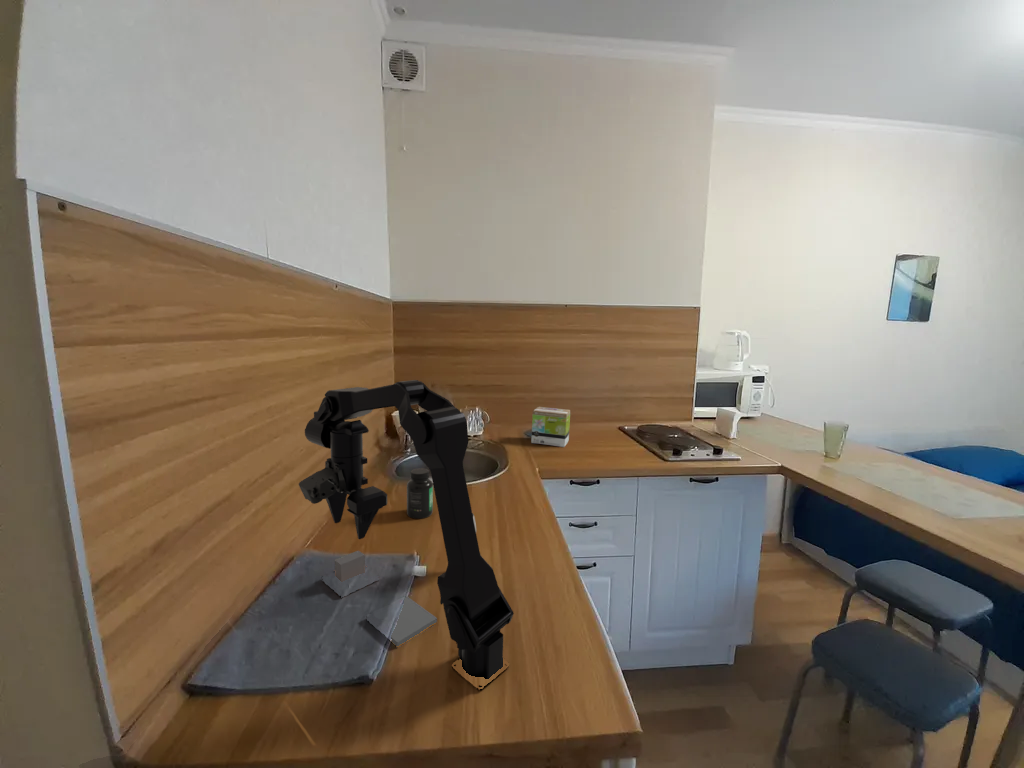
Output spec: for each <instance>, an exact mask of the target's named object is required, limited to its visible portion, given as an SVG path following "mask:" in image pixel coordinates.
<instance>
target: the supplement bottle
mask: <svg viewBox="0 0 1024 768" xmlns="http://www.w3.org/2000/svg"><path fill="white" fill-rule="evenodd" d="M409 478H410V480H408V482H407V484H406V514H407V516H408V517H409V518H412V519H415V520H417V519H418V520H420V519H425V518H428V517H430V516H431V515H432V514H433V511H434V504H433V503H434V502H433V500H434V498H433V497H434V486H433V481H432V479H429V478H430V469H427V468H423V467H420V468H419V467H418V468H413V469H412V470H411V471H410V475H409Z"/></svg>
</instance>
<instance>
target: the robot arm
mask: <svg viewBox="0 0 1024 768" xmlns="http://www.w3.org/2000/svg"><path fill="white" fill-rule="evenodd" d="M414 405H418V406H419V407H420V408H421V409H423V410H424V411H421V412H418V413H417V412H416V411H415V410H414V408H412V406H414ZM391 407H392V408H393V407H395V408H396V409H397V411H398V417H399V418H398V419H399V424H400V426H401V427H402V428H403V430H404V431H405V432H406V434H408V436H409V437H410V438H411V440H412V443H413V446H414V450H415V452H416V455H417V457H418V458H419V459H420V460H421V461H422V463H423V464H425V466H426V467H427V468H428V470H429V472H430V474H431V481H432V483H433V492H434V495H435V503H436V505H437V512H438V517H439V521H440V526H441V527H440V528H441V532H442V537H443V543H444V547H445V553H446V559H447V567H446V570H445V571H444V572H443V573H441V574H440V575H438V576H437V582H436V583H437V586H438V590H439V594H440V595H439V596H440V601H439V603H440V605H443V612H444V615H445V620H446V624H447V628H448V632H449V638H450V639H451V640H452V641H454V642H455V643H456V646H457V647H456V648H457V650H458V651H457V653H458V654H457V655H458V659H459V658H460V659H461V660H462V667H463V669H464V670H465V671H466V673H468V674H469V675H471V676H475V677H484V678H485V679H489V678H490V677H491V676H492V675H493V674H495V673H496V672H497V671H498V670H499V669H501V668H502V667H503V658H504V634H503V633H502V632H501V629H503V628H504V627H505V626H507V625H508V624H510V623H511V621H512V620H513V617H514V614H515V613H514V610H513V609H512V608H511V605H510V604H509V602H508V600H507V598H506V597H505V595H504V594H503V592H502V590H501V588H500V587H499V585H498V584H499V583H498V582H497V577H496V574H495V572H494V568H493V567H492V566H491V565H490V564H489V563H488V562H487V560H485V558H484V557H483V556H482V555H481V551H480V546H479V541H478V536H477V529H476V530H475V525H474V520H473V515H472V513H473V510H472V505H471V500H470V499H471V498H470V494H469V490H468V486H467V479H466V478H467V477H466V475H465V469H464V459H465V456H466V453H467V448H468V446H469V434H468V433H469V432H468V431H469V430H468V421H467V419H466V416H465V414H464V412H463V411H460V410H459V408H457V407H455V406H454V404H453V403H452V402H451V401H450V400H449V399H448V398H446V397H444V396H442V395H440V394H438V393H436V392H435V391H433V390H431V389H430V388H429V387H428V386H427V385H426V384H425V383H424V382H423V381H419V380H418V379H413V380H412V379H411V380H403V381H396V382H395V383H393V384H389V385H383V386H377V387H373V388H367V387H362V386H361V387H359V386H356V387H348V388H340V389H329V390H327V391H326V392H325V394H324V397H323V398H322V400H321V403H320V405H319V407H318V410H317V411H314V412H313V417H312V418H311V419H309V421H308V422H307V424H306V426H305V428H304V436H305V438H306V440H308V442H311V443H312V444H314V445H317V446H320V447H323V448H325V449H330V457H329V458H326V461H325V462H324V464H325V465H324V468H322V469H321V470H318V471H316V472H314V473H312V474H311V475H309V476H308V477H306V478H304V479H303V480H300V481H299V483H298V487H299V490H300V491H301V492H302V495H303V497H304V499H305V500H308V501H309V502H310V503H312V504H314V505H317V504H319V503H320V502H322V501H323V500H326V504H327V506H328V509H329V512H330V514H331V518H332V520H333V522H334V523H335V524H338V523H340V522H341V520H342V518H343V514H344V511H345V505H346V504H347V506H348V509H346V511H348V513H350V514H352V515H353V517H354V525H355V529H356V530H355V531H356V535H357V539H358V540H362V539H364V538H365V536H366V534H367V533H368V531H369V528H370V527H371V525H372V522H373V521H374V519H375V517H376V515H377V513H378V512H379V511H380V510H381V509H383V508H384V507H386V506H387V505H388V493H386V492H385V491H384V490H382V489H380V488H378V487H376V486H374V485H371V486H368V487H365V488H363V487H362V486H364V485H365V486H366V485H368V484H369V481H368V480H369V478H367V477H366V476H364V465H366V464H368V457H365V456H364V449H363V448H364V447H363V446H364V445H363V443H364V442H363V440H364V439H363V434H368V433H369V431H370V430H369V428H368V427H367V425H365V424H364V423H363V422H362V420H361V419H357V418H360V417H364V416H366V415H368V414H371V413H372V411H373V410H378V409H384V408H391ZM353 419H357V420H353ZM349 420H352V421H349Z"/></svg>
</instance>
